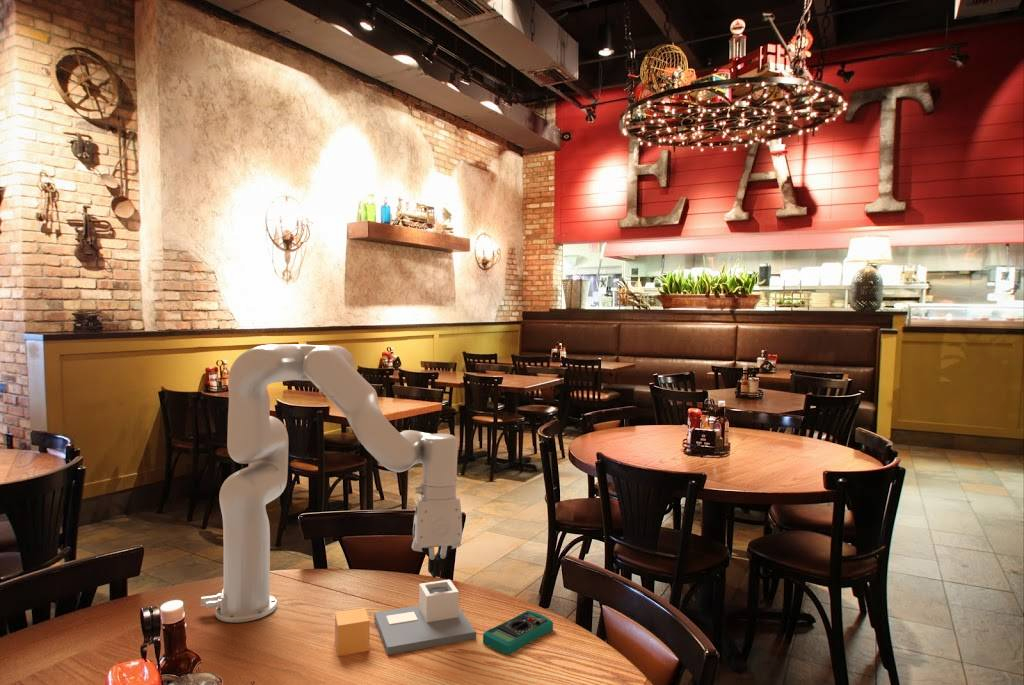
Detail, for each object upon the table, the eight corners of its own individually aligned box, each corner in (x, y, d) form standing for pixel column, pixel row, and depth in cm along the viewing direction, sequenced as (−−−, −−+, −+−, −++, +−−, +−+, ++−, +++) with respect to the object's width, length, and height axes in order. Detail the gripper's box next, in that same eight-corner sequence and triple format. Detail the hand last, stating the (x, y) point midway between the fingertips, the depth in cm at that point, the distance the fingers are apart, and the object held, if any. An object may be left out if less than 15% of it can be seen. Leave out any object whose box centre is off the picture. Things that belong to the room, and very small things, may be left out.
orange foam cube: (337, 656, 118) (337, 625, 118) (334, 641, 124) (334, 612, 124) (369, 651, 121) (369, 620, 121) (364, 636, 126) (365, 607, 126)
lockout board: (387, 655, 119) (387, 619, 119) (374, 619, 134) (374, 587, 134) (475, 639, 126) (476, 605, 125) (454, 606, 140) (454, 576, 140)
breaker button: (431, 615, 131) (431, 597, 131) (426, 607, 135) (426, 589, 135) (451, 612, 133) (451, 594, 133) (445, 604, 137) (445, 586, 137)
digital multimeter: (555, 631, 130) (555, 617, 130) (507, 658, 119) (507, 643, 119) (529, 620, 135) (529, 607, 135) (481, 645, 124) (481, 630, 124)
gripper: (408, 498, 127) (404, 586, 128) (476, 493, 133) (473, 578, 133) (401, 488, 134) (397, 572, 135) (466, 485, 140) (463, 565, 140)
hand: (435, 575), depth 134 cm, fingers closed
